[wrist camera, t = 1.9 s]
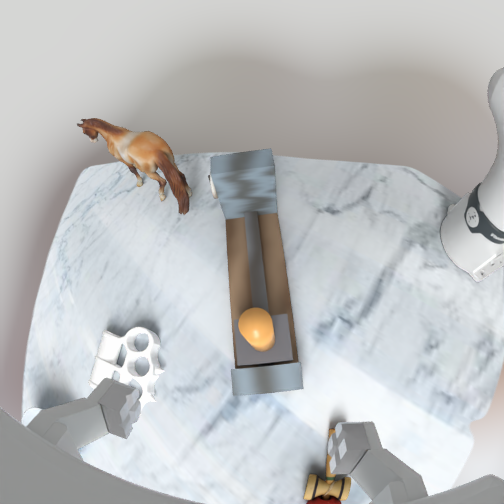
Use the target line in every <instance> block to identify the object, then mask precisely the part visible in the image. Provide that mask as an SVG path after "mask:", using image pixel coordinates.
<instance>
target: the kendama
mask: <svg viewBox="0 0 504 504" xmlns="http://www.w3.org/2000/svg"><path fill="white" fill-rule="evenodd" d="M335 432H336V431H335V429H329V439H330V437H331V435H332V434H333V433H335ZM327 453H328V452H327ZM331 459H332V457H331V456H330V455H329V454H327V462H326V481H324V480H322V479H320V478H319V477H318V476H317V475H313V474H310V475H309V478H308V483H307V486H306V491H305V495H304V499H306V500H309V501H308V502H307V503H306V504H341V501H342V500H346V499H347V497H348V494H349V491H350V486H351V478H350V477H344V478H343V479H341V480H339V481H334V479H335V476H336V474H331V471H330V463H329V462H330V460H331Z"/></svg>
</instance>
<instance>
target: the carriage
mask: <svg viewBox="0 0 504 504" xmlns="http://www.w3.org/2000/svg"><path fill="white" fill-rule="evenodd" d="M234 328H235V341H236V353H237V365H238V366H250V365H261V364H271V363H279V362H287V361H293V356H292V347H291V339H290V331H289V323H288V315H287V314H280V315H272V316H270V315H269V313H268V312H267V311H265V310H264V309H261V308H250V309H248V310H246V311H245V312H243V314H242V315H241V316H240V318H239V319H236V320H234Z"/></svg>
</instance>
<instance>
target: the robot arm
mask: <svg viewBox="0 0 504 504" xmlns="http://www.w3.org/2000/svg"><path fill="white" fill-rule="evenodd" d="M488 103H489V107H490V109H491V112H492V114H493V117H494V120H495V123H496V128H497V134H498V149H497V155H496V159H495V161H494V163H493V165H492V167H491V169H490V171H489V173H488V174H487V176H486V177H485V179H484V180H483V182H481V183H479V184H478V185H477V186H476V187H475V188H474V189H473V191H472V193H466V194H465V195H464V197H463V198H462V199H461V200H460V201H459V202H458V203H457V204H451V205H450V206H449V207H448V212H447V216H446V218H445V219H444V221H443V222H442V225H441V240H442V244H443V246H444V249H445V251H446V253H447V255H448V256H449V258H450V259H451V260H452V261H453V262H454V263H455V264H456V265H457V266H458V267H459V268H461V269H462V270H464V271H466V272H468V273H469V274H470V275H471V276H472V278H473V279H474V280H475V281H477V282H480V281H482V280H483V279H485V278H486V277H488V276H489V275H491V274H492V273H494V272H495V271H497V270H498V269H500V268H501V267H502V266H504V68H501V69H499V70H498V71H497V72H495V73H494V75H493V76H492V77H491V80H490V82H489V85H488ZM481 274H482V275H481ZM139 395H140V394H139V389H137V388H134V387H132V386H129V385H126V384H123V383H121V382H118V381H115V380H113V379H110V378H107V377H106V378H104V379H103V380H102V381H101V382H100V383H99V385H98V386H97V387H96V388H95V389H94V391H93V392H92V393H91V394H90V395H89V397H88V398H87V399H86V398H81V399H78V400H75V401H71V402H68V403H65V404H61V405H58V406H55V407H51V408H48V409H44V410H41V411H40V412H39V413H38V414H37V415H36V416H35V417H34V418H33V420H32V421H31V422H30V423H29V424H28V425H27V426H24V425H23V424H22V423H20V422H19V421H17V420H16V419H15V418H14V417H12V416H11V415H10V414H8V413H7V412H6V411H5V410H3V409H2V408H1V407H0V504H204V503H199V502H195V501H190V500H186V499H182V498H178V497H175V496H171V495H168V494H164V493H161V492H158V491H154V490H151V489H148V488H145V487H143V486H140V485H137V484H134V483H132V482H129V481H126V480H124V479H121V478H119V477H116V476H114V475H112V474H109V473H107V472H105V471H103V470H100V469H98V468H96V467H94V466H92V465H90V464H88V463H86V462H84V461H83V459H82V457H81V455H80V453H79V451H78V449H80V448H82V447H84V446H86V445H88V444H90V443H92V442H94V441H96V440H97V439H99V438H101V437H103V436H105V435H107V434H109V433H111V434H114V435H117V436H119V437H122V438H125V439H127V438H128V436H129V434H130V432H131V431H132V429H133V428H132V423H135V422H137V420H138V418H139V416H140V412H141V402H140V401H139V400H138V397H139ZM335 431H336V432H335V433H333V434H332V435H331V437H330V439H329V442H328V454H329V455H330V456H331V457H332V459H331V460H330V462H329V463H330V471H331V474H350V475H351V477H352V478H353V479H354V480H355V481H356V482H357V484H358V485H359V486H360V487H361V488H362V489H363V490H364V492H365V493H366V494H367V495H368V496H369V497H370V498H371V499H372V501H371V502H370V503H369V504H504V480H502V479H501V478H499V477H497V476H495V475H491V474H490V475H486V476H483V477H481V478H479V479H476V480H474V481H471V482H469V483H467V484H464V485H461V486H459V487H456V488H453V489H450V490H447V491H444V492H441V493H438V494H435V495H431V496H428V494H427V491H426V488H425V485H424V483H423V480H422V477H421V475H419V474H418V473H417V472H415V471H414V470H413V469H411V468H410V467H409V466H407V465H406V464H405V463H403V462H402V461H401V460H400V459H398V458H397V457H396V456H394V455H393V454H392V453H391V452H389V451H388V450H387V449H383V448H382V445H381V442H380V439H379V436H378V433H377V430H376V427H375V424H374V423H373V422H339V423H338V424H337V425H336V427H335Z"/></svg>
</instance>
